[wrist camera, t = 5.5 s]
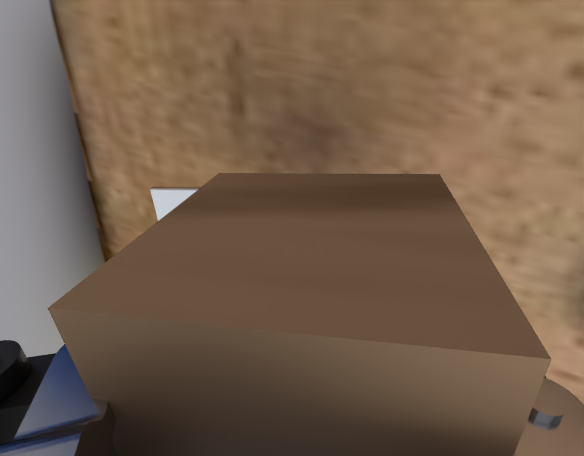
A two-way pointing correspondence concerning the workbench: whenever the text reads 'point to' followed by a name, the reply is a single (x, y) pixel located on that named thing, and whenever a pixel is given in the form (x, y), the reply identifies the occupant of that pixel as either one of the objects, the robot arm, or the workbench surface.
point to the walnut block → (307, 325)
